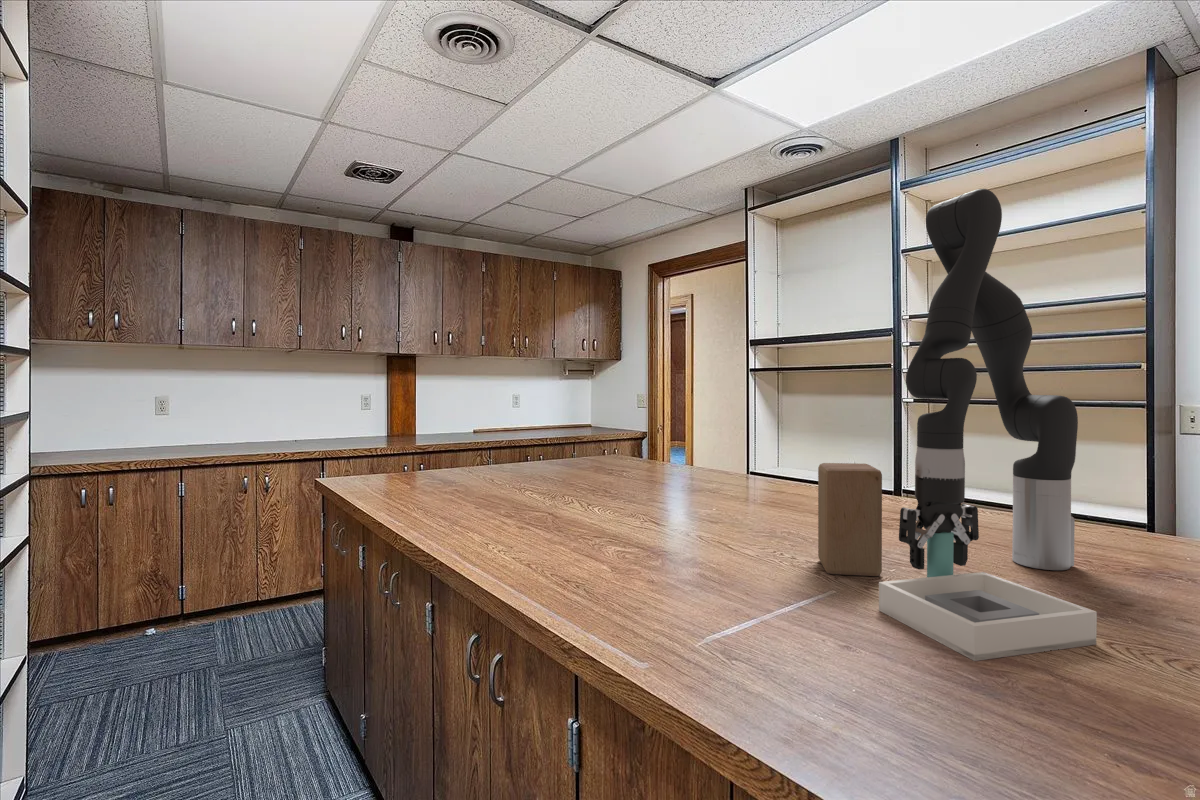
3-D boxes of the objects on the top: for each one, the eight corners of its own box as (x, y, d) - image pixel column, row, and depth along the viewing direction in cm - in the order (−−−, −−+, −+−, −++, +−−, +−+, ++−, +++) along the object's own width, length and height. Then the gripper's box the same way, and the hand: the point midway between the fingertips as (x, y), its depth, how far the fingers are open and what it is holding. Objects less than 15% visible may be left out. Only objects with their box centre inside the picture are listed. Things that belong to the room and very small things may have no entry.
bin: (983, 599, 99) (983, 572, 99) (1096, 644, 82) (1096, 611, 81) (878, 610, 94) (878, 582, 94) (974, 661, 77) (974, 626, 77)
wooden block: (883, 578, 110) (883, 469, 110) (825, 575, 112) (825, 468, 112) (870, 562, 120) (870, 463, 119) (817, 560, 122) (817, 462, 121)
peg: (940, 584, 107) (940, 528, 106) (958, 591, 103) (959, 533, 102) (921, 586, 106) (921, 529, 105) (939, 593, 102) (939, 535, 102)
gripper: (956, 469, 109) (955, 557, 109) (888, 472, 106) (888, 563, 106) (992, 475, 102) (991, 570, 102) (920, 478, 99) (919, 576, 99)
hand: (938, 566), depth 104 cm, fingers open, 8 cm apart
